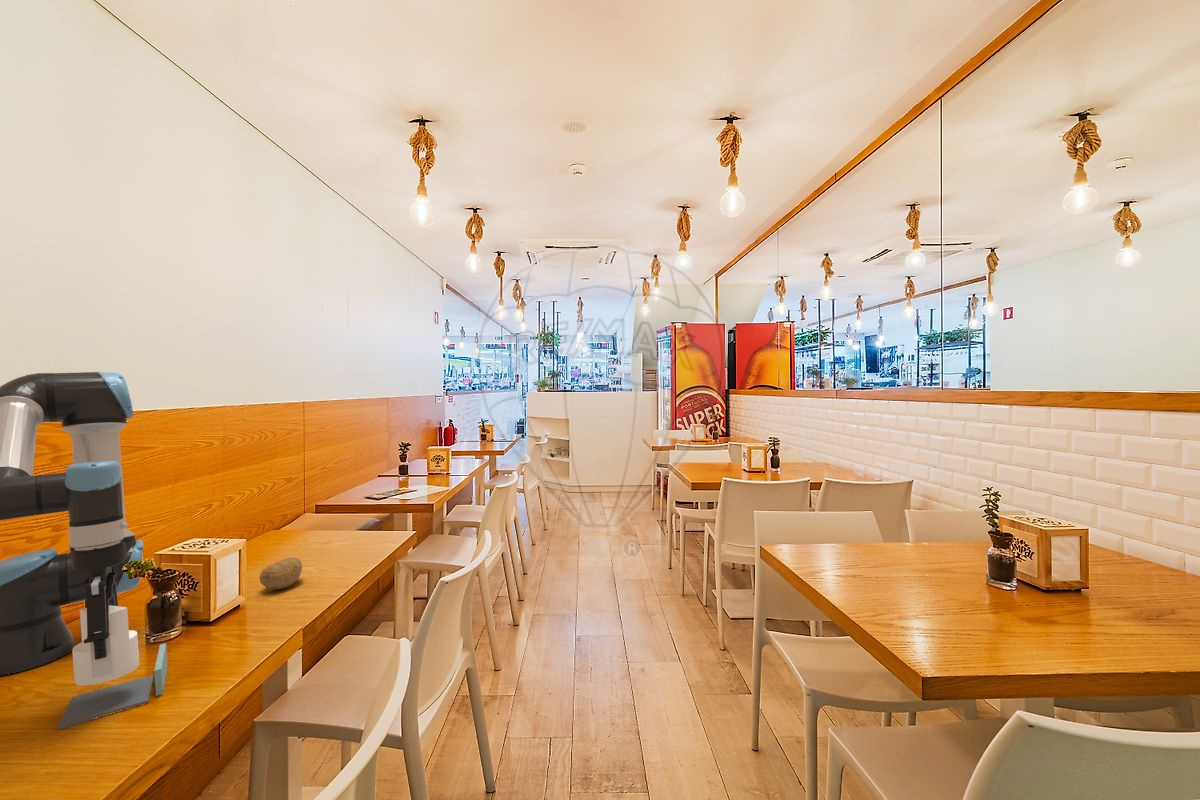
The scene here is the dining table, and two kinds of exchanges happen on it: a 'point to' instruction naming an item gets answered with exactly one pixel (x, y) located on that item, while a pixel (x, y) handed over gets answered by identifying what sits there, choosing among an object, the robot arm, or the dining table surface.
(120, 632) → the cylinder with rectangular tab
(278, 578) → the potato
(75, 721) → the coaster
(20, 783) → the dining table surface
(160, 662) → the panel
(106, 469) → the robot arm
